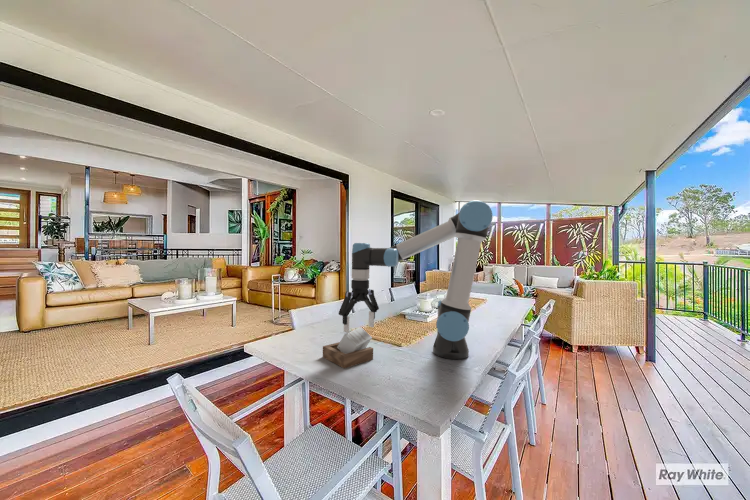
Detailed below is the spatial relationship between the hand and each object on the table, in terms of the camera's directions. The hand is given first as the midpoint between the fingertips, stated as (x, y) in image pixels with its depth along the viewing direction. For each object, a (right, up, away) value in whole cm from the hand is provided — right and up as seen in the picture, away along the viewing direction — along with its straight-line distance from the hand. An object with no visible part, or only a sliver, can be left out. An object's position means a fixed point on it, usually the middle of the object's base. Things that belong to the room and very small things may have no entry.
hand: (359, 329), depth 123 cm
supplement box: (+2, -5, +4) cm, 6 cm away
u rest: (-4, -11, -4) cm, 12 cm away
